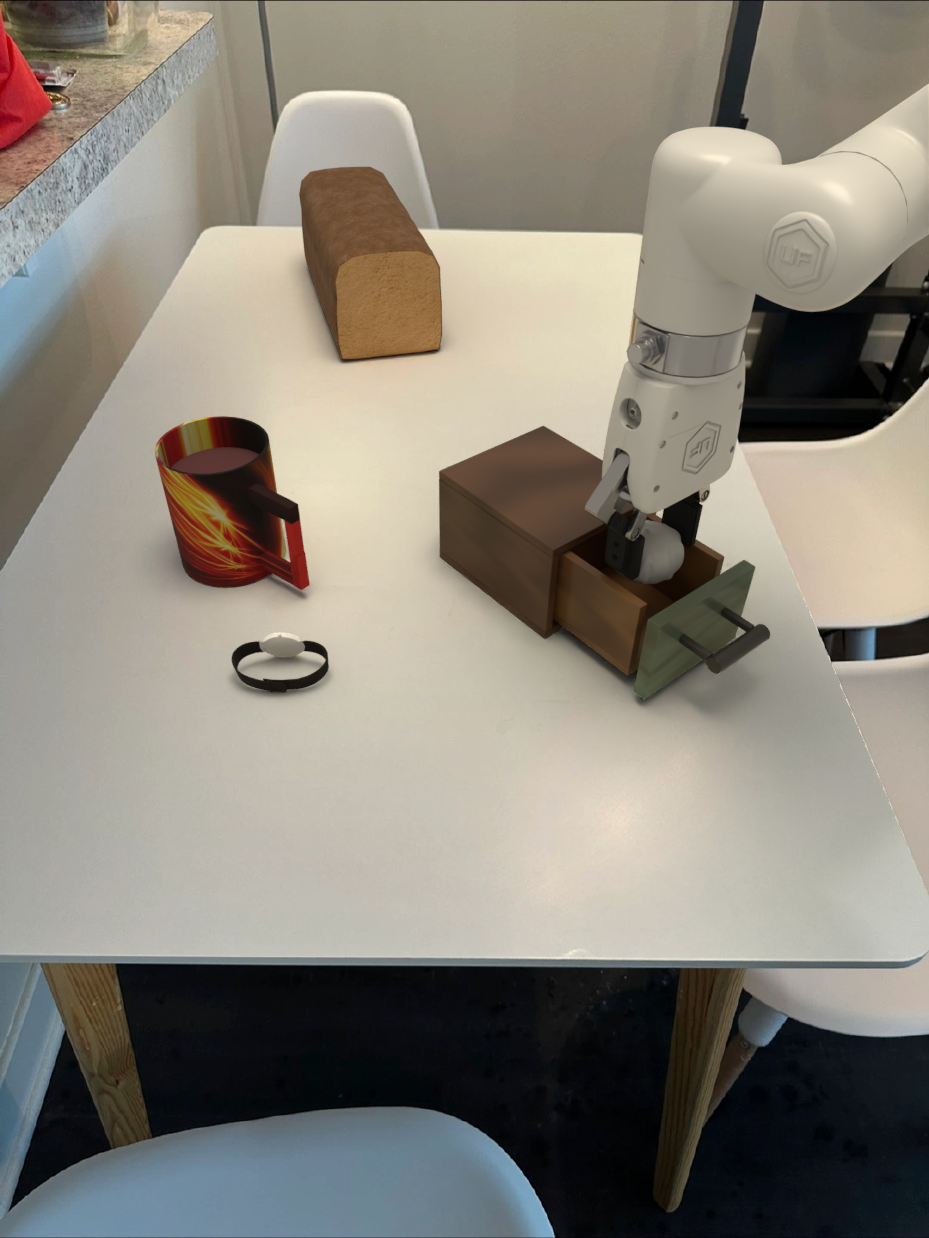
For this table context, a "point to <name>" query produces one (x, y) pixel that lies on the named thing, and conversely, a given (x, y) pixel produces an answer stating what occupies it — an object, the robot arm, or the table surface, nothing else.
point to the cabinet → (519, 519)
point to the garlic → (659, 553)
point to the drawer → (657, 613)
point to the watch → (281, 647)
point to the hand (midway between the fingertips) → (649, 552)
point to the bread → (369, 265)
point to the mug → (229, 504)
